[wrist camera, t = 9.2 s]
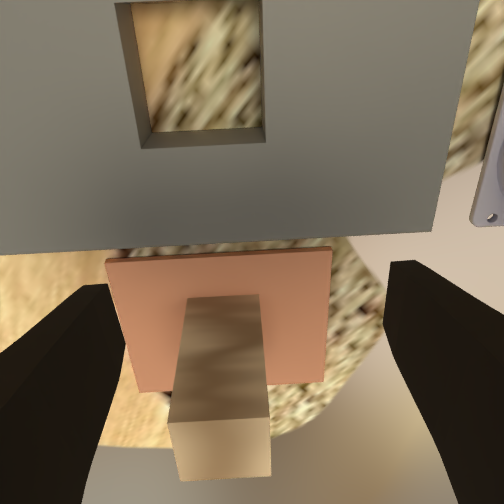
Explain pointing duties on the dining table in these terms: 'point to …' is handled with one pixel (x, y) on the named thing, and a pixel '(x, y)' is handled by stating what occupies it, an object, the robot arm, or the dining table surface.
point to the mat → (225, 284)
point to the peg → (221, 391)
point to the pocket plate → (227, 140)
